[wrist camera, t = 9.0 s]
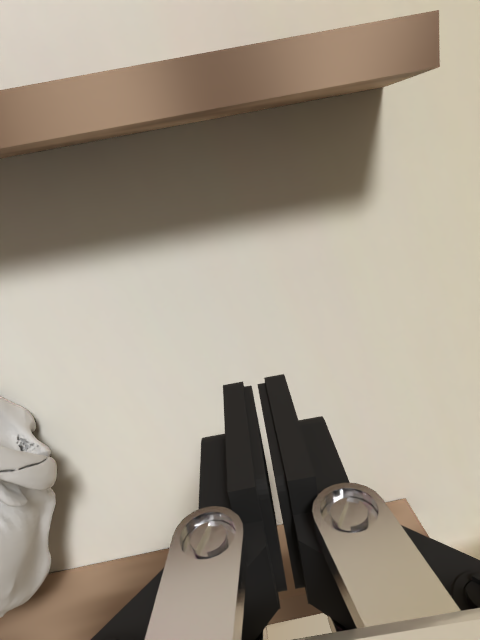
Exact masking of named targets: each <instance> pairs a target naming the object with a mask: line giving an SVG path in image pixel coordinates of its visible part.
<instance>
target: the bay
mask: <svg viewBox="0 0 480 640" xmlns="http://www.w3.org/2000/svg"><path fill="white" fill-rule="evenodd" d="M438 67H440V63H439V10H437V11H432V12H426V13H421V14H415V15H410V16H404V17H399V18H393V19H388V20H382V21H377V22H371V23H366V24H360V25H355V26H349V27H344V28H339V29H333V30H328V31H322V32H317V33H311V34H306V35H300V36H295V37H289V38H284V39H278V40H273V41H267V42H262V43H256V44H251V45H246V46H240V47H235V48H229V49H224V50H218V51H213V52H207V53H202V54H196V55H191V56H185V57H180V58H174V59H169V60H163V61H158V62H153V63H147V64H142V65H136V66H131V67H125V68H120V69H114V70H109V71H103V72H98V73H92V74H87V75H81V76H76V77H70V78H65V79H60V80H54V81H49V82H43V83H38V84H32V85H27V86H21V87H16V88H10V89H5V90H0V159H1V158H7V157H12V156H17V155H23V154H28V153H34V152H39V151H44V150H50V149H55V148H60V147H66V146H71V145H76V144H82V143H87V142H92V141H98V140H103V139H109V138H114V137H119V136H125V135H130V134H135V133H141V132H146V131H151V130H157V129H162V128H167V127H173V126H178V125H183V124H189V123H194V122H200V121H205V120H210V119H216V118H221V117H226V116H232V115H237V114H242V113H248V112H253V111H258V110H264V109H269V108H275V107H280V106H285V105H291V104H296V103H301V102H307V101H312V100H317V99H323V98H328V97H333V96H339V95H344V94H350V93H355V92H360V91H366V90H371V89H376V88H382V87H385V86H388V85H391V84H394V83H396V82H399V81H402V80H405V79H407V78H410V77H413V76H416V75H418V74H421V73H424V72H427V71H429V70H432V69H435V68H438ZM386 505H387V506H388V507H389V509H390V510H391V512H392V513H393V515H394V516H395V517H396V519H397V520H398V522H399V523H400V525H402V526H405V527H407V528H409V529H411V530H413V531H416V532H418V533H420V534H422V535H425V536H427V537H429V536H428V534H427V533H426V531H425V530H424V528H423V526H422V525H421V523H420V521H419V520H418V518H417V516H416V515H415V513H414V512H413V510H412V508H411V507H410V505H409V503H408V502H407V500H406V498H405V499H400V500H396V501H391V502H386ZM277 530H278V536H279V542H280V548H281V554H282V560H283V566H284V572H285V578H286V584H287V591H281V592H278V594H279V601H280V608H281V609H278V611H277V612H276V613H275V615H274V616H273V617H272V619H271V620H270V622H269V623H268V624H267V625H269V624H274V623H279V622H283V621H288V620H292V619H297V618H302V617H306V616H311V615H316V614H320V613H323V612H321V611H320V610H318V609H317V608H315V607H314V606H312V605H311V604H308V601H307V596H306V591H305V587H304V588H298V589H295V585H294V579H293V574H292V568H291V563H290V557H289V552H288V547H287V541H286V536H285V530H284V525H283V524H282V525H277ZM168 552H169V548H168V549H164V550H159V551H154V552H149V553H145V554H140V555H135V556H131V557H126V558H121V559H116V560H112V561H107V562H102V563H97V564H93V565H88V566H83V567H78V568H74V569H69V570H64V571H60V572H55V573H50V574H48V575H47V577H46V578H45V580H44V582H43V583H42V585H41V586H40V587H39V589H38V590H37V591H36V592H35V594H34V595H33V596H32V597H31V598H30V599H29V600H28V601H27V602H25V603H24V604H22V605H20V606H18V607H15V608H14V609H12V610H9V611H7V612H6V613H5V614H4V615H3V617H1V618H0V640H91V639H92V638H93V637H94V636H95V635H96V634H97V633H98V632H99V631H100V630H101V629H102V628H103V627H104V626H105V625H106V624H107V623H108V622H109V621H110V620H111V619H112V618H113V617H114V616H115V615H116V614H117V613H118V612H119V611H120V610H121V609H122V608H123V607H124V606H125V605H126V604H127V603H128V602H129V601H130V600H131V599H132V598H133V597H135V596H136V595H137V594H138V593H139V592H140V591H141V590H142V589H143V588H144V587H145V586H146V585H147V584H148V583H149V582H150V581H151V580H152V579H153V578H154V577H155V576H156V575H157V574H158V573H159V572H160V571H161V570H162V569H163V568H164V567H165V563H166V559H167V556H168Z"/></svg>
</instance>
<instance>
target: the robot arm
mask: <svg viewBox="0 0 480 640" xmlns="http://www.w3.org/2000/svg"><path fill="white" fill-rule="evenodd" d="M264 379H265V383H263V384H258V389H259V394H260V400H261V405H262V411H263V416H264V422H265V427H266V433H267V438H268V444H269V449H270V455H271V460H272V465H273V471H274V476H275V482H276V487H277V493H278V498H279V503H280V509H281V514H282V520H283V525H284V530H285V536H286V541H287V547H288V552H289V557H290V563H291V568H292V574H293V579H294V585H295V589H298V588H304V587H305V591H306V596H307V601H308V604H311V605H312V606H314V607H315V608H317V609H318V610H320V611H321V612H323V613H324V614H326V615H327V616H328V620H329V624H330V628H331V631H332V633H329V634H323V635H317V636H311V637H306V638H300V639H294V640H480V560H478V559H476V558H473V557H471V556H469V555H467V554H465V553H462V552H460V551H458V550H456V549H453V548H451V547H449V546H447V545H445V544H442V543H440V542H438V541H436V540H433V539H431V538H429V537H427V536H425V535H422V534H420V533H418V532H416V531H413V530H411V529H409V528H407V527H405V526H402V525H400V523H399V522H398V520H397V519H396V517H395V516H394V515H393V513H392V512H391V510H390V509H389V507H388V506H387V505H386V503H385V502H384V500H383V499H382V498H381V497H380V496H379V495H378V494H377V493H376V492H375V491H374V490H372V489H370V488H368V487H367V486H364V485H360V484H357V483H350V482H349V480H348V477H347V475H346V472H345V470H344V467H343V465H342V462H341V460H340V458H339V455H338V453H337V450H336V448H335V445H334V443H333V440H332V438H331V435H330V433H329V430H328V428H327V425H326V423H325V420H324V418H323V417H322V416H321V417H315V418H310V419H304V420H299V421H298V418H297V415H296V412H295V408H294V405H293V402H292V399H291V395H290V392H289V389H288V386H287V382H286V379H285V376H284V374H283V375H277V376H272V377H266V378H264ZM223 395H224V419H225V434H221V435H216V436H210V437H205V438H202V441H201V463H200V490H199V510H197V511H195V512H192V513H191V514H190V515H188V516H187V517H186V518H184V519H183V520H182V522H181V523H180V524H179V525H178V526H177V528H176V530H175V532H174V535H173V537H172V541H171V545H170V548H169V552H168V556H167V559H166V563H165V567H164V568H163V569H162V570H161V571H160V572H159V573H158V574H157V575H156V576H155V577H154V578H153V579H152V580H151V581H150V582H149V583H148V584H147V585H146V586H145V587H144V588H143V589H142V590H141V591H140V592H139V593H138V594H137V595H136V596H135V597H133V598H132V599H131V600H130V601H129V602H128V603H127V604H126V605H125V606H124V607H123V608H122V609H121V610H120V611H119V612H118V613H117V614H116V615H115V616H114V617H113V618H112V619H111V620H110V621H109V622H108V623H107V624H106V625H105V626H104V627H103V628H102V629H101V630H100V631H99V632H98V633H97V634H96V635H95V636H94V637H93V638H92V639H91V640H268V636H267V628H266V626H267V624H268V623H269V622H270V620H271V619H272V617H273V616H274V615H275V613H276V612H277V611H278V609H281V608H280V601H279V594H278V592H281V591H287V584H286V578H285V572H284V566H283V560H282V554H281V548H280V542H279V536H278V530H277V524H276V518H275V512H274V506H273V500H272V494H271V488H270V482H269V476H268V471H267V465H266V460H265V455H264V449H263V444H262V439H261V434H260V428H259V423H258V418H257V412H256V407H255V402H254V397H253V391H252V386H246V387H244V385H243V382H239V383H233V384H228V385H223Z"/></svg>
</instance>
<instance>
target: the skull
mask: <svg viewBox="0 0 480 640" xmlns="http://www.w3.org/2000/svg"><path fill="white" fill-rule="evenodd" d="M35 428H36V423H35V420H34V418H33V416H32V415H31V413H30V412H29V411H28V410H27V409H25V408H24V407H22V406H20V405H17V404H15V403H13V402H11V401H9V400H7V399H5V398H2V397H1V396H0V618H1V617H3V615H4V614H5V613H6V612H7V611H9V610H12V609H14V608H15V607H18V606H20V605H22V604H24V603H25V602H27V601H28V600H29V599H30V598H31V597H32V596H33V595H34V594H35V592H36V591H37V590H38V589H39V587H40V586H41V585H42V583H43V582H44V580H45V578H46V577H47V575H48V573H49V570H50V567H51V555H50V553H49V548H48V545H49V543H48V536H49V530H50V526H51V520H52V515H53V511H54V508H55V505H56V500H55V496H56V495H55V493H54V492H53V489H51V487H52V486H53V485H54V483H55V481H56V478H57V465H56V462H55V460H54V459H53V458H52V457H49V456H50V454H51V450H50V449H49V447H47V446H46V445H45V444H44V443H42V442H40V441H39V440H37V439H36V438H35V436H34V435H33V434H32V432H34V431H35Z"/></svg>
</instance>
